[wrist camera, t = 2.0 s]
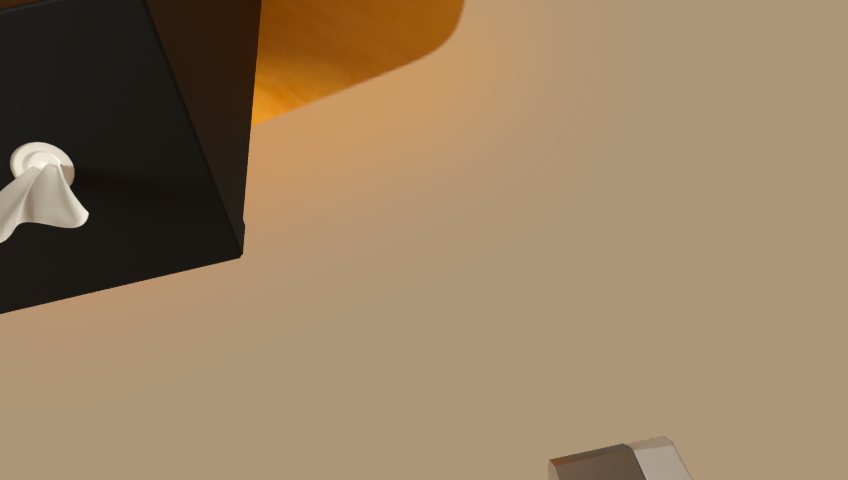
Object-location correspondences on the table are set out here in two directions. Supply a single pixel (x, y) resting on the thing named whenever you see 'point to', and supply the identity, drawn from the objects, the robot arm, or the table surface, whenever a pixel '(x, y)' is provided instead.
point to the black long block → (121, 141)
